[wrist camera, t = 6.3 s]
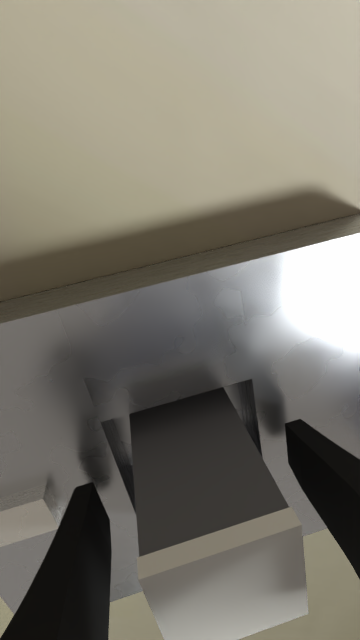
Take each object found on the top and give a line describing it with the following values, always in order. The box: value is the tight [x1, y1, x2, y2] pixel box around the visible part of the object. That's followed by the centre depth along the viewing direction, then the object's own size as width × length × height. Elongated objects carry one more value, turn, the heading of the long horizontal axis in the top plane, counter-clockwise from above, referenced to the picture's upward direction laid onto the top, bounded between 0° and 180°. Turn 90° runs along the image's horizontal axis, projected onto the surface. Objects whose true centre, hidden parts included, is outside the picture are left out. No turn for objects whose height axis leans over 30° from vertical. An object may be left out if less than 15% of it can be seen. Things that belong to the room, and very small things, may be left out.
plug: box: [129, 387, 308, 640], centre depth 12 cm, size 4×4×6 cm
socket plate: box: [0, 214, 360, 615], centre depth 13 cm, size 18×14×3 cm
